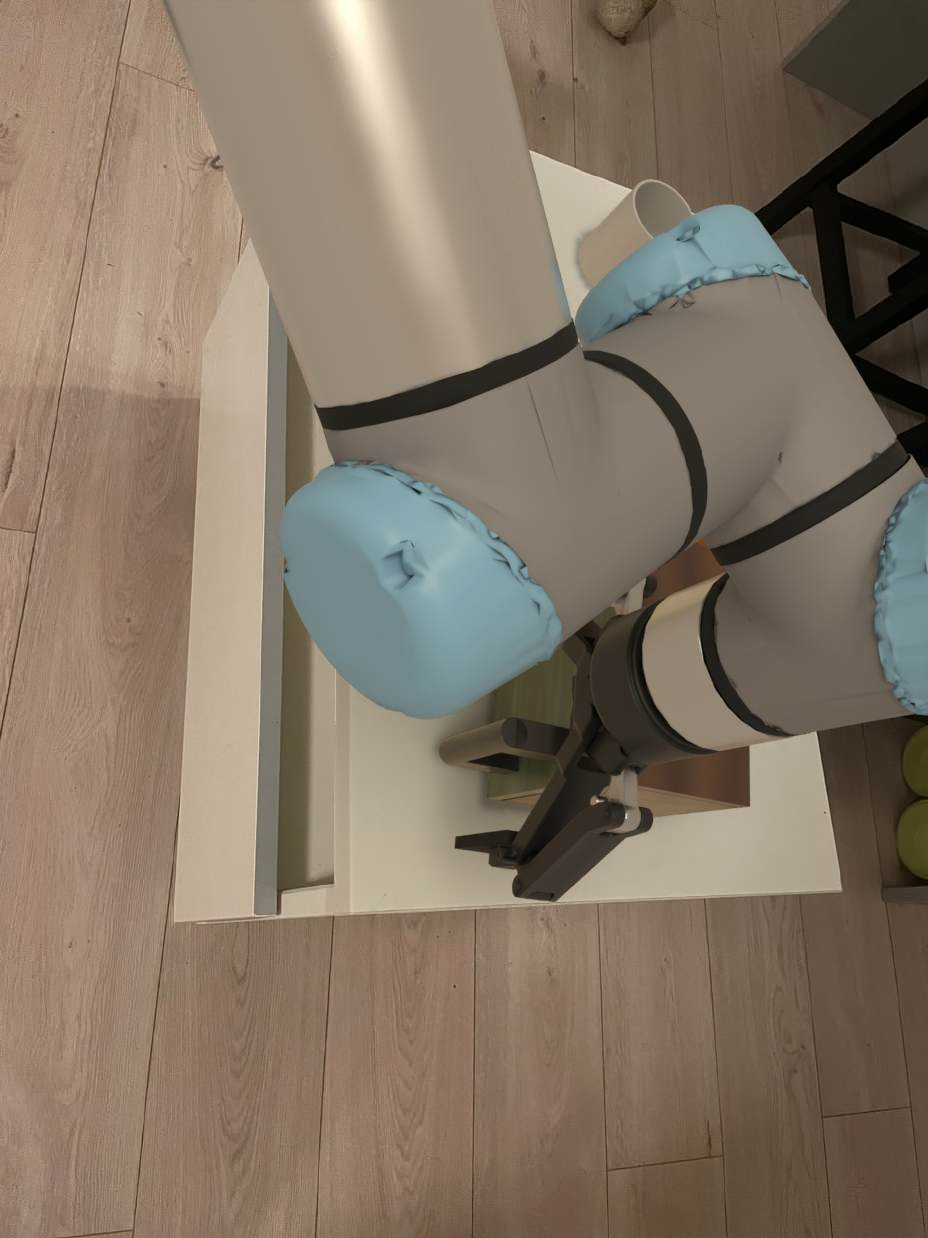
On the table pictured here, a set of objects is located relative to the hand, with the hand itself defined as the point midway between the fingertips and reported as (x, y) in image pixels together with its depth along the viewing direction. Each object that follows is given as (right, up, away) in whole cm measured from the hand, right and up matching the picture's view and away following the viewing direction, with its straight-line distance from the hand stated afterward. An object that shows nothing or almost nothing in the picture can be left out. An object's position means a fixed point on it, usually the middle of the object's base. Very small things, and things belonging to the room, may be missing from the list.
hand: (482, 739), depth 61 cm
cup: (+13, +43, +30) cm, 54 cm away
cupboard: (+7, +1, +15) cm, 16 cm away
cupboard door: (-1, +3, +11) cm, 11 cm away
